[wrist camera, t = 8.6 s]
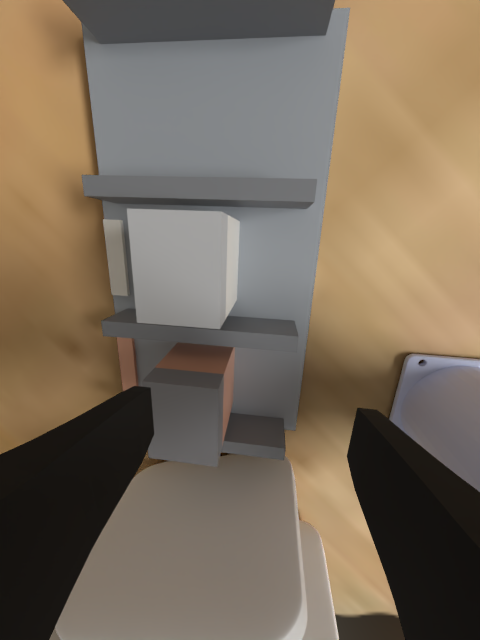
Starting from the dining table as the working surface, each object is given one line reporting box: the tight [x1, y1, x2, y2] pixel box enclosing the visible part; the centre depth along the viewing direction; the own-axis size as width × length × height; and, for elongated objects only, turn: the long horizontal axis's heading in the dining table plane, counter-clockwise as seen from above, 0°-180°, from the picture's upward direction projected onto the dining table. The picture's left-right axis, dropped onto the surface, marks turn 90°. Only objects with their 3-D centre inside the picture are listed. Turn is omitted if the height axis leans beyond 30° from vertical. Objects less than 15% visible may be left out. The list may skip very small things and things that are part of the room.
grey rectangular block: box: [127, 209, 240, 329], centre depth 14 cm, size 4×5×6 cm
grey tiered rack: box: [63, 0, 350, 460], centre depth 16 cm, size 14×25×4 cm, turn 178°
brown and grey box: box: [142, 342, 235, 467], centre depth 16 cm, size 4×5×6 cm
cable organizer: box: [55, 454, 339, 640], centre depth 19 cm, size 15×11×12 cm
